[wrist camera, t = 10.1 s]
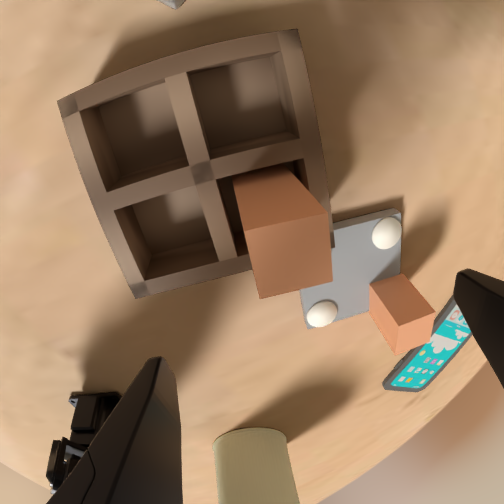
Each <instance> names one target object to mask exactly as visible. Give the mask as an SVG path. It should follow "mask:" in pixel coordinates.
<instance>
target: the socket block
mask: <svg viewBox="0 0 504 504" xmlns="http://www.w3.org/2000/svg"><path fill="white" fill-rule="evenodd" d="M57 103H58V107H59V110H60V113H61V117H62V120H63V123H64V127H65V130H66V133H67V136H68V139H69V142H70V145H71V148H72V151H73V154H74V157H75V160H76V163H77V165H78V168H79V171H80V174H81V176H82V179H83V182H84V184H85V187H86V190H87V192H88V195H89V197H90V200H91V202H92V205H93V207H94V210H95V212H96V215H97V217H98V219H99V222H100V224H101V226H102V229H103V231H104V233H105V236H106V238H107V240H108V242H109V245H110V247H111V249H112V251H113V253H114V256H115V258H116V260H117V262H118V264H119V266H120V268H121V270H122V273H123V275H124V277H125V279H126V281H127V283H128V285H129V287H130V289H131V291H132V293H133V295H134V297H135V299H137V298H141V297H145V296H149V295H153V294H157V293H161V292H165V291H169V290H173V289H177V288H181V287H185V286H189V285H193V284H197V283H201V282H205V281H209V280H213V279H217V278H221V277H225V276H229V275H233V274H237V273H241V272H244V271H248V270H252V269H253V268H252V264H251V260H250V256H249V251H248V247H247V243H246V239H245V234H244V230H243V226H242V222H241V217H240V213H239V209H238V204H237V200H236V195H235V191H234V186H233V182H232V177H231V175H235V174H239V173H243V172H246V171H250V170H254V169H259V168H263V167H267V166H271V165H275V164H280V163H283V164H284V165H285V166H286V167H287V168H288V169H289V170H290V171H291V172H292V174H293V175H294V176H295V177H296V178H297V179H298V180H299V181H300V182H301V183H302V184H303V185H304V187H305V188H306V189H307V190H308V191H309V192H310V193H311V194H312V195H313V196H314V198H315V199H316V200H317V201H318V202H319V203H320V204H321V205H322V207H323V208H324V209H325V210H326V211H327V212H328V220H329V231H330V243H331V249H332V248H335V239H334V230H333V222H332V214H331V206H330V198H329V191H328V184H327V177H326V170H325V164H324V157H323V151H322V145H321V139H320V133H319V128H318V122H317V117H316V111H315V106H314V101H313V96H312V91H311V86H310V81H309V77H308V72H307V68H306V63H305V59H304V54H303V50H302V46H301V41H300V37H299V33H298V29H291V30H283V31H276V32H270V33H263V34H257V35H252V36H246V37H241V38H236V39H232V40H227V41H222V42H218V43H214V44H210V45H206V46H202V47H198V48H194V49H190V50H187V51H183V52H180V53H176V54H173V55H170V56H166V57H163V58H160V59H157V60H154V61H151V62H148V63H145V64H142V65H139V66H137V67H134V68H131V69H128V70H126V71H123V72H121V73H118V74H116V75H113V76H111V77H108V78H106V79H103V80H101V81H99V82H96V83H94V84H92V85H89V86H87V87H85V88H83V89H81V90H78V91H76V92H74V93H72V94H70V95H68V96H66V97H64V98H62V99H60V100H58V101H57Z"/></svg>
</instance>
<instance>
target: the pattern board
mask: <svg viewBox="0 0 504 504" xmlns="http://www.w3.org/2000/svg"><path fill="white" fill-rule="evenodd" d="M333 230H334V239H335V248H332V249H331V256H332V271H333V281H332V282H329V283H325V284H321V285H317V286H313V287H309V288H305V289H301V290H299V291H300V296H301V302H302V308H303V314H304V320H305V323H306V326H307V329H311V328H314V327H323V326H326V325H328V324H329V323H332V322H335V321H338V320H341V319H345V318H348V317H351V316H354V315H357V314H361V313H364V312H367V311H369V313H370V315H371V317H372V318H373V320H374V321H375V323H376V325H377V326H378V328H379V330H380V331H381V333H382V335H383V336H384V338H385V339H386V341H387V343H388V344H389V346H390V348H391V349H392V351H393V353H394V355H398V354H401V353H403V352H406V351H408V350H411V349H413V348H416V347H418V346H420V345H423V344H425V343H428V342H430V338H431V333H432V328H433V323H434V318H435V313H436V312H435V311H434V309H433V308H432V307H431V306H430V305H429V303H428V302H427V301H426V300H425V299H424V297H423V296H422V295H421V294H420V293H419V291H418V290H417V289H416V288H415V287H414V286H413V284H412V283H411V282H410V281H409V280H408V279H407V278H406V276H405V275H404V274H403V273H402V274H400V261H401V233H402V227H401V213H400V212H399V211H398V210H396V209H395V208H391V209H387V210H383V211H379V212H375V213H371V214H367V215H363V216H359V217H355V218H351V219H347V220H344V221H340V222H336V223H333Z"/></svg>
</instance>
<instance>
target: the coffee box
mask: <svg viewBox="0 0 504 504" xmlns="http://www.w3.org/2000/svg"><path fill="white" fill-rule="evenodd" d="M157 1H159V2H161V3H163V4H165V5H167V6H169V7H171V8H173V9H178V8H179V7H180V6H181V5H182V3H183V2H184V1H185V0H157Z"/></svg>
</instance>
